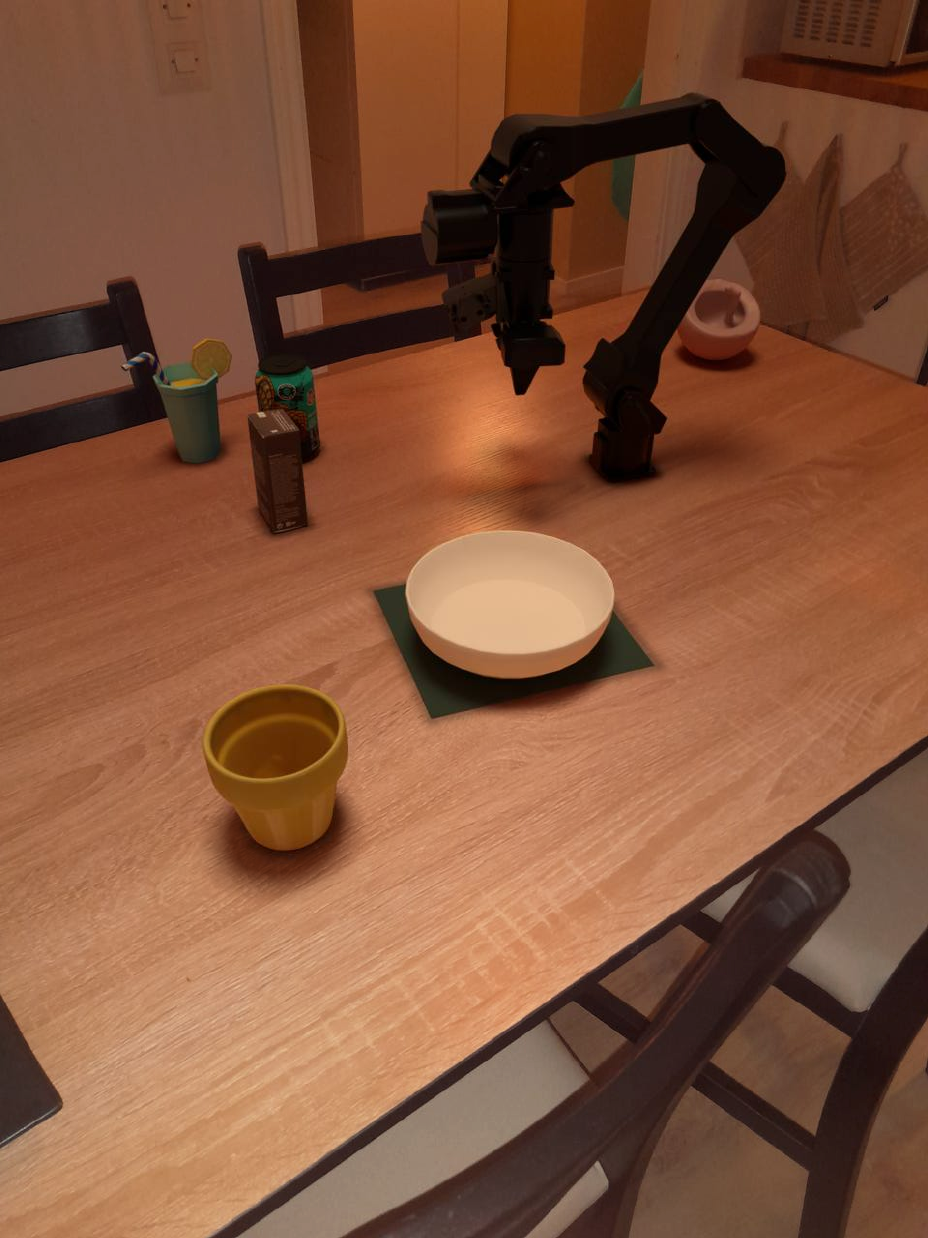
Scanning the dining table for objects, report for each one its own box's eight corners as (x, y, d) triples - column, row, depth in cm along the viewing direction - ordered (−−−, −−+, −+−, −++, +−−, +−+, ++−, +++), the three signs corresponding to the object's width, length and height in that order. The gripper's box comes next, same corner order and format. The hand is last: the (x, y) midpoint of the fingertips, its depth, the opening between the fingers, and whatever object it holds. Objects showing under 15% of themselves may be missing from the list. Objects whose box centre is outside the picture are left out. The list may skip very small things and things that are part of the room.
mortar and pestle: (689, 376, 141) (701, 298, 134) (659, 344, 151) (669, 270, 143) (765, 369, 143) (781, 292, 136) (731, 338, 152) (745, 265, 145)
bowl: (466, 734, 84) (466, 681, 80) (375, 611, 97) (371, 561, 93) (649, 665, 91) (657, 613, 87) (541, 560, 104) (544, 511, 101)
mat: (567, 552, 106) (567, 551, 106) (654, 666, 91) (654, 665, 91) (373, 591, 100) (372, 590, 100) (431, 719, 85) (431, 718, 85)
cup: (166, 487, 116) (140, 369, 107) (129, 466, 120) (101, 351, 111) (257, 445, 124) (240, 332, 115) (219, 427, 128) (200, 316, 119)
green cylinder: (254, 459, 122) (241, 369, 114) (282, 434, 127) (271, 347, 119) (303, 469, 120) (293, 378, 112) (330, 444, 125) (322, 356, 117)
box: (311, 525, 110) (300, 428, 102) (272, 534, 108) (259, 437, 101) (294, 500, 114) (283, 406, 107) (257, 508, 112) (243, 414, 105)
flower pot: (229, 773, 80) (210, 685, 74) (355, 765, 81) (346, 677, 75) (215, 876, 72) (192, 787, 66) (354, 866, 73) (344, 777, 67)
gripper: (438, 229, 106) (441, 363, 116) (454, 288, 92) (456, 436, 102) (538, 225, 107) (533, 358, 117) (570, 283, 93) (561, 430, 102)
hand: (519, 393), depth 109 cm, fingers closed
